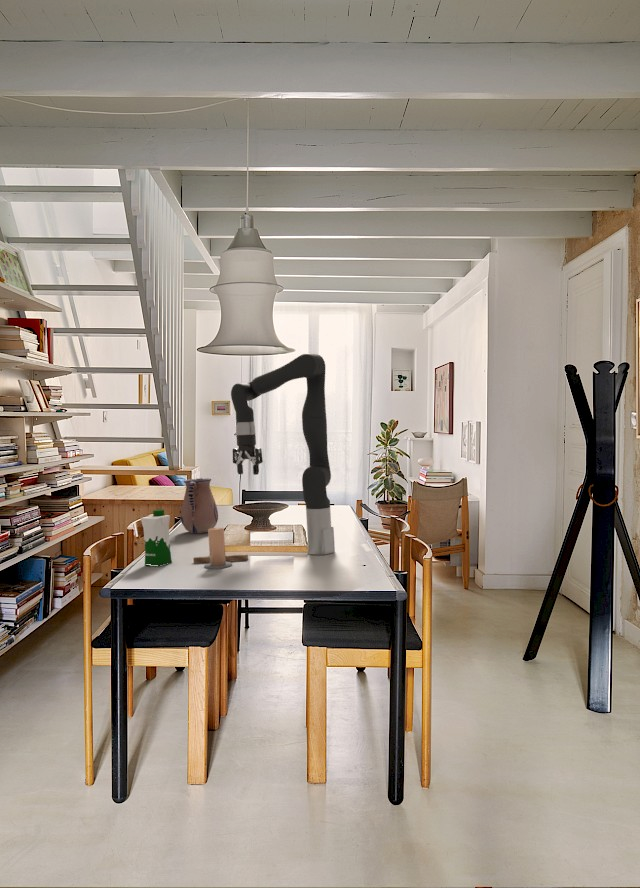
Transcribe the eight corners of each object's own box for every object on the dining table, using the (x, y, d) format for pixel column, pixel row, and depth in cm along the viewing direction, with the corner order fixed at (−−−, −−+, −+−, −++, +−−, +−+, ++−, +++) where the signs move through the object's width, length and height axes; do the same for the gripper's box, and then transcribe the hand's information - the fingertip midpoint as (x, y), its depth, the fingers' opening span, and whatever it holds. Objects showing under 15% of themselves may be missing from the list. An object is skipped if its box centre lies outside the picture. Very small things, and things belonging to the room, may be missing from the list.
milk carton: (175, 562, 271) (171, 509, 270) (159, 567, 263) (155, 513, 262) (157, 561, 275) (153, 509, 274) (140, 566, 267) (137, 512, 266)
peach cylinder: (229, 563, 260) (227, 528, 260) (217, 566, 256) (215, 530, 255) (218, 562, 264) (216, 527, 263) (207, 565, 259) (204, 529, 259)
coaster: (238, 564, 260) (238, 563, 260) (217, 570, 253) (217, 568, 253) (219, 561, 267) (218, 560, 267) (198, 567, 259) (198, 566, 259)
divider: (248, 559, 268) (247, 554, 268) (247, 560, 267) (247, 554, 267) (194, 562, 268) (193, 557, 268) (193, 563, 267) (193, 558, 266)
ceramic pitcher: (220, 527, 348) (217, 476, 347) (217, 535, 327) (213, 480, 326) (183, 530, 347) (180, 478, 346) (178, 537, 326) (174, 482, 325)
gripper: (226, 434, 287) (228, 475, 288) (252, 433, 278) (254, 475, 279) (239, 433, 293) (242, 473, 294) (265, 432, 284) (267, 473, 285)
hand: (248, 474), depth 286 cm, fingers open, 8 cm apart
